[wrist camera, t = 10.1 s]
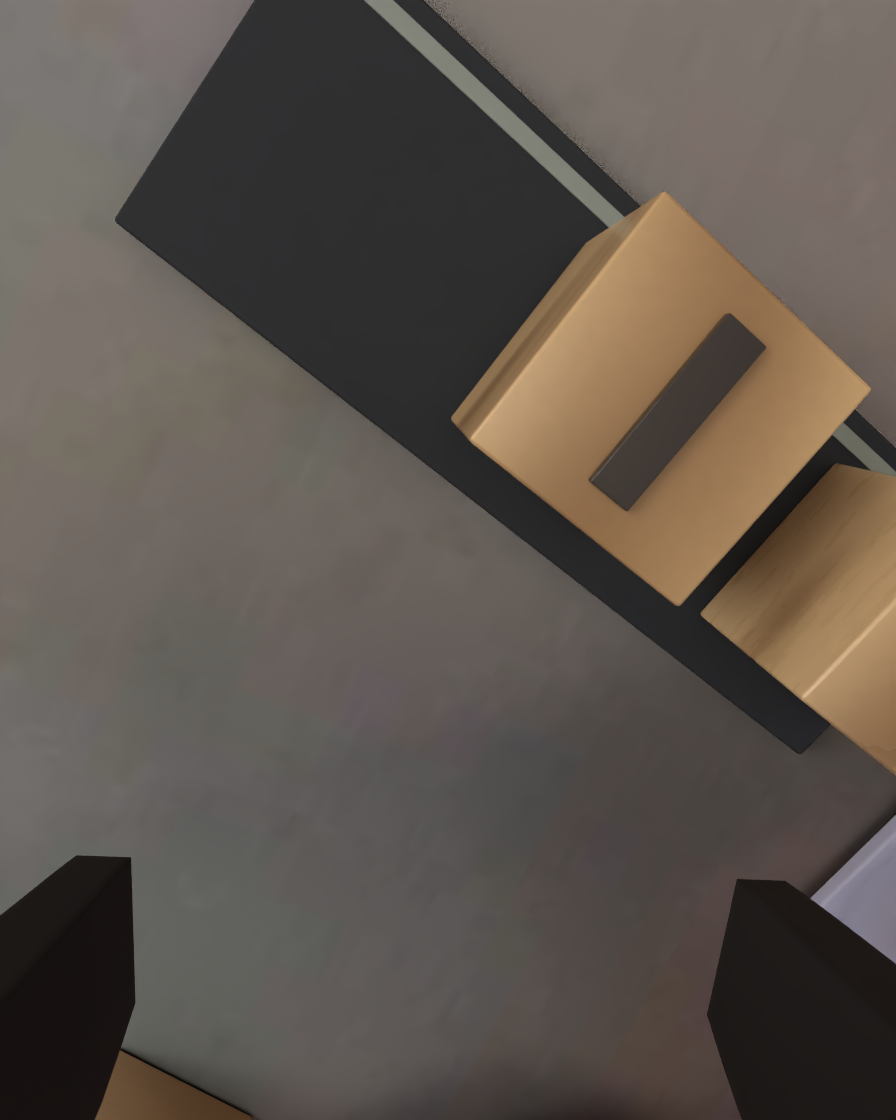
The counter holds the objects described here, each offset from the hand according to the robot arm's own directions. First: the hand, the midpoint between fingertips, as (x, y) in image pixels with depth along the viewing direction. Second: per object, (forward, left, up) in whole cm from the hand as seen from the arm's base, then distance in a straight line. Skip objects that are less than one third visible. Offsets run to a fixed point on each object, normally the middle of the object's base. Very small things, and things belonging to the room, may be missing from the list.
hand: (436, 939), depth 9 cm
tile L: (-5, -7, -7) cm, 11 cm away
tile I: (+1, -7, -7) cm, 10 cm away
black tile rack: (+1, -7, -7) cm, 10 cm away
